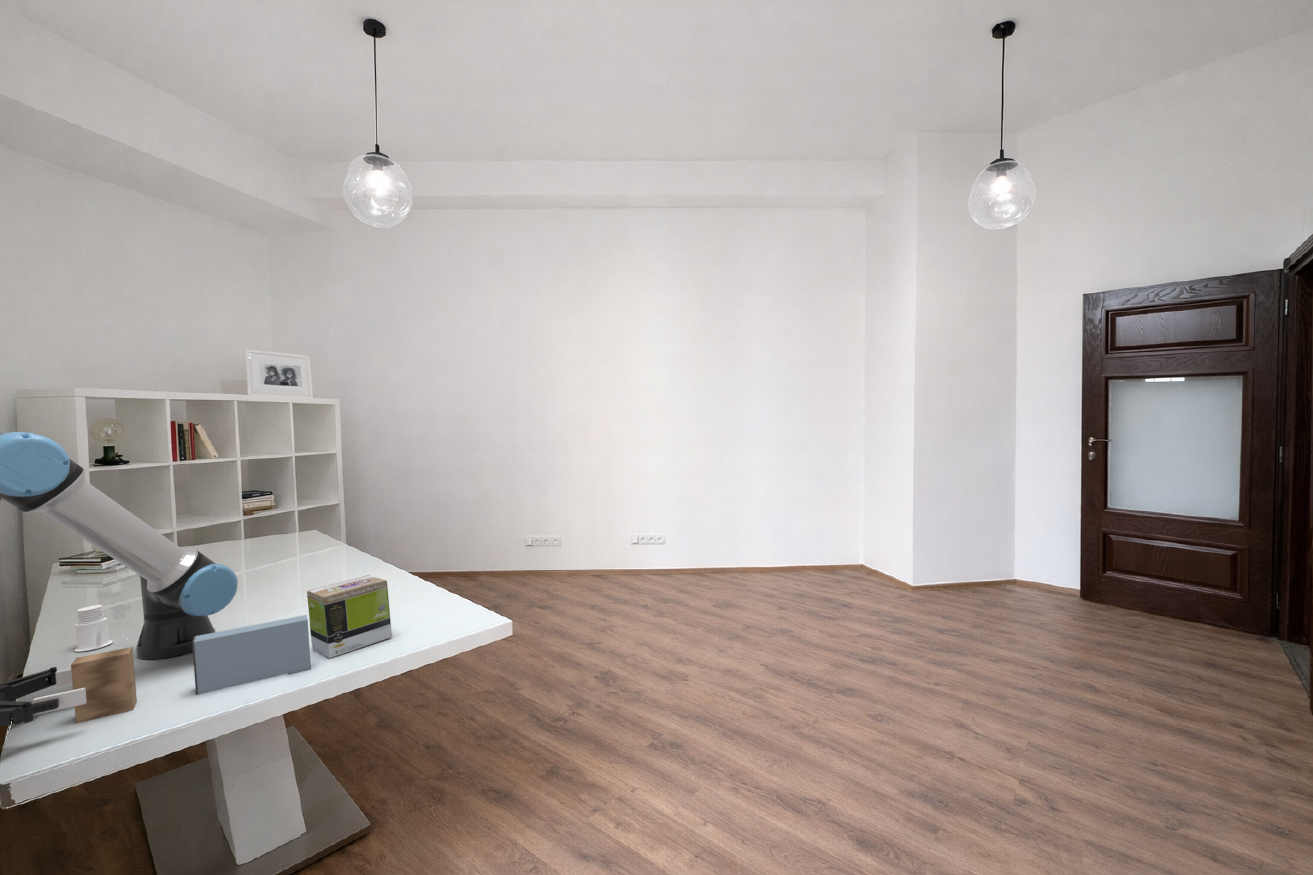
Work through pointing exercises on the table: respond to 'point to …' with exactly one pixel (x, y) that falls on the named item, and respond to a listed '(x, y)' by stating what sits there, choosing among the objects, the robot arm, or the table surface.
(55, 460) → the robot arm
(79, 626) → the downlight
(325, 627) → the tea box
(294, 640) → the blue-gray rectangular block
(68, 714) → the table surface
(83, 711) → the stub
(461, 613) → the table surface
